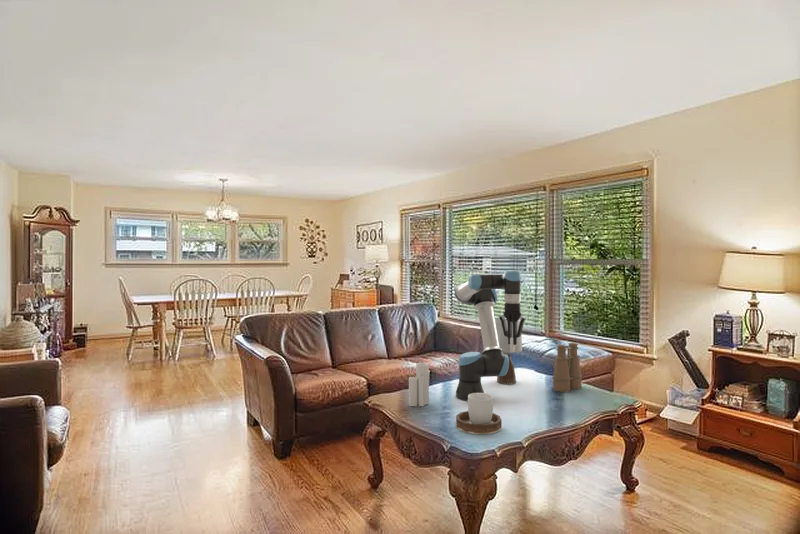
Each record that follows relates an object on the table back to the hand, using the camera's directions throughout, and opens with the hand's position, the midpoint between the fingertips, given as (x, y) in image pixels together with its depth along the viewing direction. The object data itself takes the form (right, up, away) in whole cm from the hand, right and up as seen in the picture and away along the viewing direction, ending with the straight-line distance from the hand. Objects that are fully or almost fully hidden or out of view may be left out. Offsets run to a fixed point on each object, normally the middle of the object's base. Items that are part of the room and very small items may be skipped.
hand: (512, 351), depth 227 cm
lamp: (+10, -29, +55) cm, 63 cm away
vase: (-44, -30, +13) cm, 55 cm away
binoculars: (+41, -29, +42) cm, 65 cm away
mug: (-19, -29, -19) cm, 40 cm away
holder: (-20, -30, -19) cm, 40 cm away
